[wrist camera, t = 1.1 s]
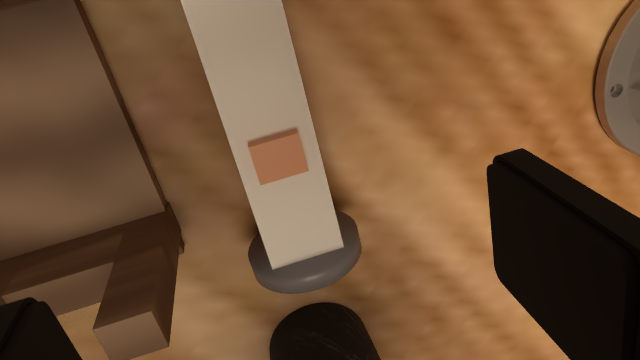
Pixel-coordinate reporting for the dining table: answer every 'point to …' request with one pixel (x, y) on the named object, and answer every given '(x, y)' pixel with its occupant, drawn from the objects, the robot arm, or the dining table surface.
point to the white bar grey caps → (273, 144)
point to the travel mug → (322, 335)
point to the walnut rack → (79, 184)
